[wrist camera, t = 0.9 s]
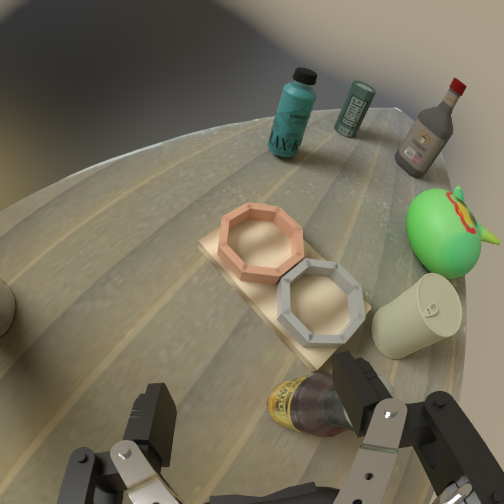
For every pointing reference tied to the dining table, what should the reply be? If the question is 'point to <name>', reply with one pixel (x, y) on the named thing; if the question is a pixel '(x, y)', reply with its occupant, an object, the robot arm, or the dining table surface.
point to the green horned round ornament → (445, 232)
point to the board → (265, 295)
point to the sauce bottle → (312, 405)
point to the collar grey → (342, 281)
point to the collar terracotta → (262, 214)
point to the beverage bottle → (293, 113)
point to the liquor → (429, 134)
